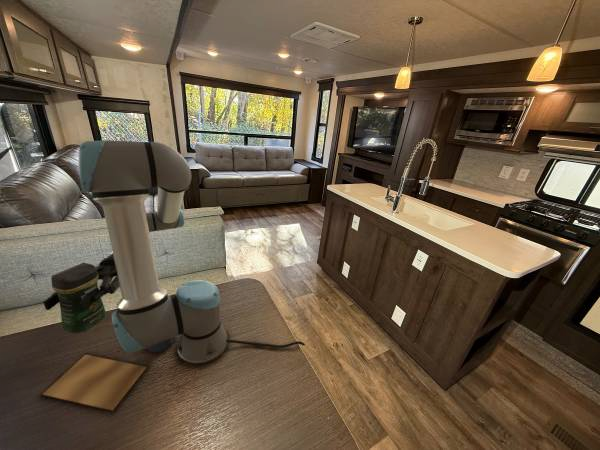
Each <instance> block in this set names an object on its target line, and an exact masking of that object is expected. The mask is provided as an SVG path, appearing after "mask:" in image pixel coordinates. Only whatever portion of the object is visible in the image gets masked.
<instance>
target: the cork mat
mask: <svg viewBox="0 0 600 450" xmlns="http://www.w3.org/2000/svg"><path fill="white" fill-rule="evenodd" d="M147 368H148V367H147V366H143V365H139V364H133V363H128V362H125V361H119V360H114V359H108V358H104V357H99V356H93V355H90V354H85V355H83V356H82V357H81V358H80V359H79V360H78V361H77V362H76V363H75V364H74V365H72V366H71V368H69V369H68V370H66V372H65V373H63V375H62V376H60V377H59V378H58V379H57V380H56V381H55V382H54V383H53V384H52V385H51V386H50V387H49V388H47V389H46V390H45V391H44V392H43V393H42V396H45V397H49V398H53V399H58V400H62V401H65V402H71V403H75V404H80V405H84V406H88V407H93V408H98V409H102V410H106V411H111V412H113V411H115V409H116V408H117V407H118V406H119V404H120V403H121V402H122V400H123V399H124V398H125V397H126V395H127V394H128V393H129V391H130V390H131V389H132V388H133V386H134V385H135V384H136V383H137V382H138V380H139V379H140V377H141V376H142V375H143V374H144V372H145V371H146V370H147Z"/></svg>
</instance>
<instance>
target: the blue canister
mask: <svg viewBox="0 0 600 450" xmlns="http://www.w3.org/2000/svg"><path fill="white" fill-rule="evenodd" d="M173 341H174V337H173V338H170V339H168V340H165V341H162V342H160V343H157V344H155V345H152V346H150V347H148V348H147V350H148V351H150V352H152V353H159V352H162V351H165V350H166V349H168V348H169V347H170V346H171V345H172V344H173Z"/></svg>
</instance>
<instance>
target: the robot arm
mask: <svg viewBox="0 0 600 450" xmlns="http://www.w3.org/2000/svg"><path fill="white" fill-rule="evenodd" d="M78 174H79V181H80V187H81V190H82V192H84V193H88V194H91V198H92V200H93V201H94V202H96V203H98V204H99V205H101V207H102V210H103V215H104V218H105V219H104V220H105V223H106V229H107V232H108V238H109V242H110V246H111V252H110V253H109V254H108V255H106V256H105V257H104V258H102V259H101V261H100V262H99V264H98V265H97V266H95V268H96V269H97V273H98V281H99V280H101V281H102V282H101V284H100V285H99V287H98V288H96V289H95V290H93V291H92V292H91V293H90V294H89V295H88V296H86V297H85V298H84V299H83V300H82V301H81V302H79V303H78V304H79V307H80V310H81V311H85V310H86V309H87V308H88V307H89V306H90V305H91V304H93V303H94V302H95V301H98V300H99V299H100V298H101V299H102V297H103V296H106V295H107V294H110V295H113V294H115V293H116V292H117V290H118V288H120V292H121V298H120V300H119V301H118V302H117V303H116V310H114V311H113V312H112V313H111V322H112V325H113V328H114V333H115V336H116V338H117V340H118V343H119V345H120V347H121V348H122V350H123V351H125V352H126V353H129V354H131V353H135V352H137V351H142V350H146V349H148V347H150V346H152V345H155V344H157V343H160V342H162V341H165V340H168V339H170V338H173V339H174V338H175V337H178V336H179V339H178V342H177V353H178V357H179V359H180V360H181V361H182V362H183V363H184V364H186V365H190V366H203V365H206V364H209V363H211V362H213V361H215V360H216V359H218V358H219V357H220V356H221V355H222V354H223V353H224V352H225V350H226V349H227V346H228V343H233V344H240V345H241V344H242V345H250V346H259V347H269V348H276V349H284V348H289V347H292V346H295V345H301V346H305V345H306V344H305V343H304V342H302V341H300V340H299V341H296V340H295V341H292V342H290V343H285V344H274V343H273V344H272V343H263V342H255V341H254V342H253V341H246V340H237V339H230V338H229V339H228V333H227V330H226V329H225V327H224V326H223V323H222V320H221V319H222V318H221V297H220V290H219V288H218V287H217V286H216V285H215V284H214V283H213V282H211V281H207V280H203V279H194V280H189V281H185V282H184V283H182V284H181V285H179V287H178V288H177V290H176V292H175V293H174V294H170V295H168V291H167V290H166V289H165V288H162V287H160V281H159V276H158V271H157V266H156V261H155V260H156V259H155V255H154V249H153V243H152V239H151V233H153V232H159V231H167V230H174V229H178V228H182V227H184V226H185V216H184V212H183V211H182V204H183V200H184V196H185V192H186V191H187V190H188V189H189V188H190V186H191V181H192V171H191V168H190V165H189V164H188V161H187V160H186V159H185V157H183V155H182V154H181V153H180V152H179V151H177V150H176V149H174V148H173V147H171V146H170V145H167V144H165V143H161V142H158V141H131V140H109V139H107V140H106V139H103V140H88V141H87V140H85V141H83V142H82V143H81V144H80V145H79V148H78ZM152 188H153V189H154V188H157V205H156V207H157V208H156V211H151V212H146V207H145V201H146V200H147V199H148V197H150V191H149V189H152ZM42 303H43V306H44V308H45V310H46V311H50V310H51V309H53V308H54V307H55V306H56V305H57V304H60V302H59V297H58V294H57V293H56V292H55V291H54V292H53V293H52V294H51V295H50V296H48V297H47V298H46V299H45V300H43V301H42Z"/></svg>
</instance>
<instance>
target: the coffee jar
mask: <svg viewBox="0 0 600 450" xmlns="http://www.w3.org/2000/svg"><path fill="white" fill-rule="evenodd" d="M95 267H96V266H95V265H94V264H92V263H91V264H90V263H87V262H81V263H79V264H75V265H73V266H70V267H69V268H66V269H63V270H62V271H61V270H60V271H58V272H57V273H54V274H53V275H52V276H51V277H50V281H51V288H52V290H53V291H54V292H56V293H57V294H58V297H59V308H60V318H61V326H62V329H63V330H64V331H66V332H68V333H70V334H71V333H72V334H78V333H79V334H80V333H83V332H86V331H87V330H90V329H91V328H93V327H94V326H96V325H97V324H99V323H100V322H101V321H103V319H105V318H106V316H107V311H106V308H105V305H104V302H103V299H102V297H101V298H100V299H99V300H98V301H95V302H94V303H93V304H91V305H90V306H89V307H88V308H87V309H86V310H85V311H81V310H80V307H79V304H78V303H79V302H81V301H82V300H83V299H84V298H85V297H86V296H88V295H89V294H90V293H91V292H92V291H93V290H95V289H96V288H99V286H98V285H99V284H98V281H99V280H98V273H97V269H96V268H95Z"/></svg>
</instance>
